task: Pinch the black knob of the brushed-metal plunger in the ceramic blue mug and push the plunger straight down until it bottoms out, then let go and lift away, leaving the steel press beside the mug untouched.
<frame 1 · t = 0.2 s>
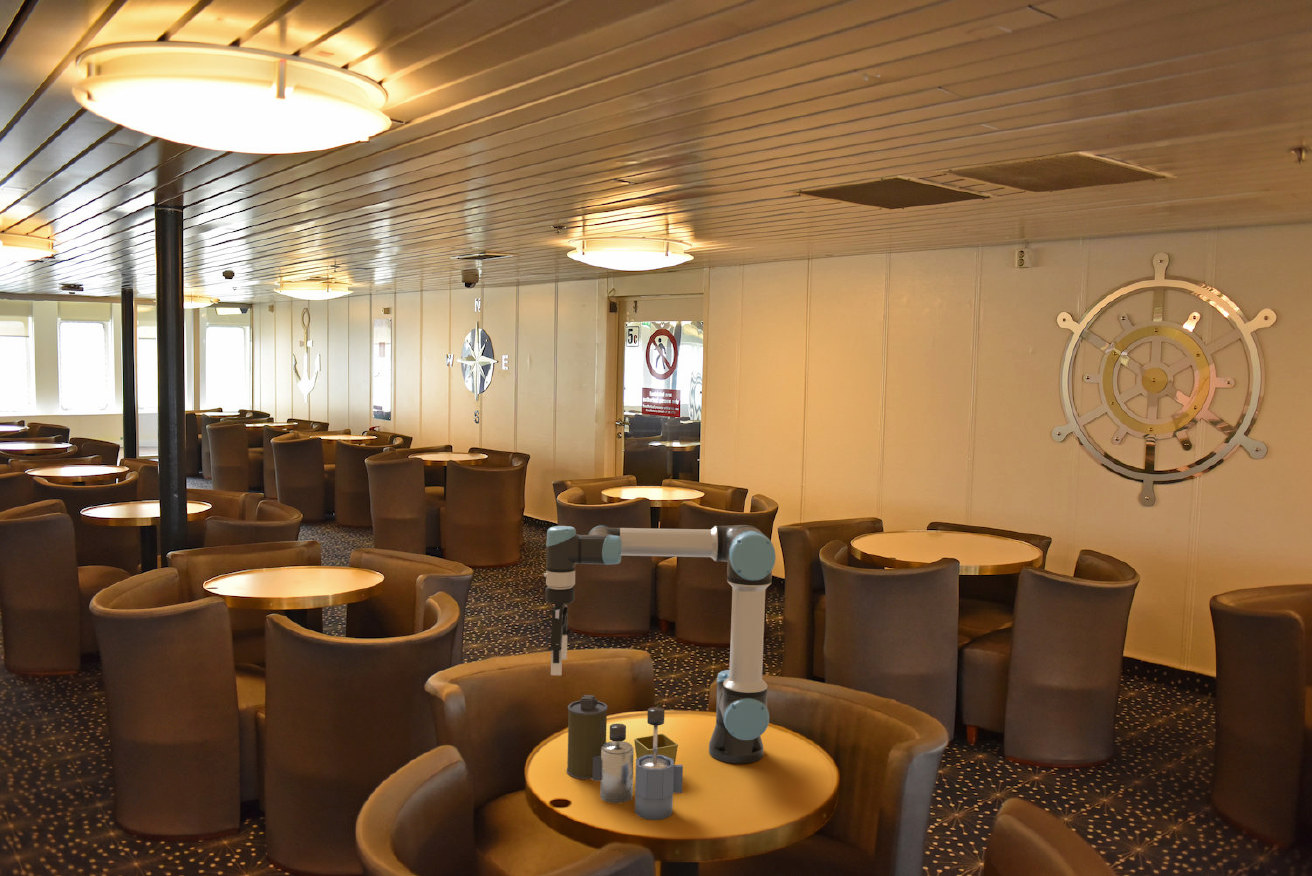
hand: (559, 666, 245), 28 cm above the table, fingers open, 13 cm apart
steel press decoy: (616, 796, 233), on the table
flower pot: (655, 775, 246), on the table
canister: (586, 771, 248), on the table
plunger: (655, 738, 224), point 18 cm above the table, slide at 0.0 cm
blue mug: (653, 811, 225), on the table
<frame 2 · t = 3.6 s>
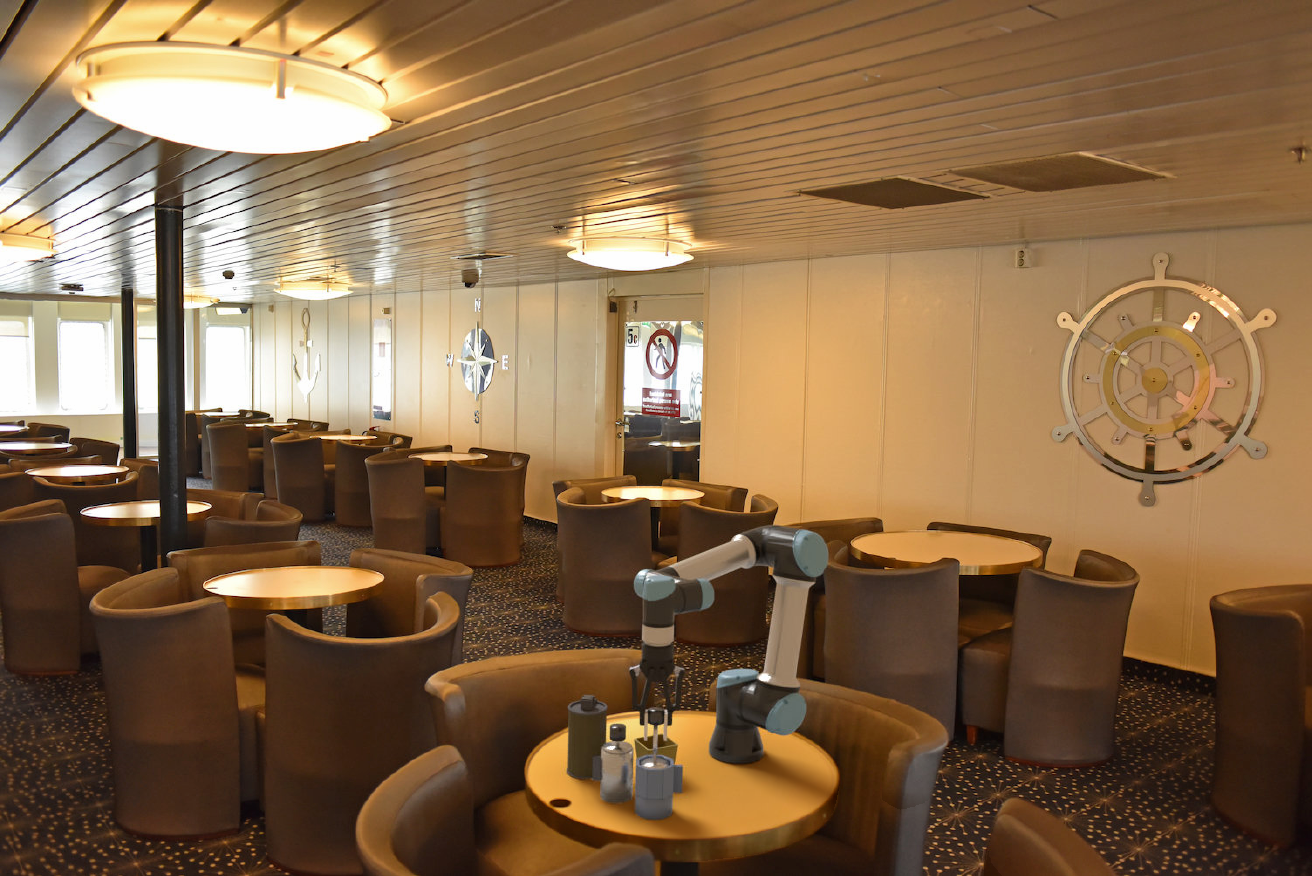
hand: (655, 738, 224), 18 cm above the table, fingers closed on plunger, 4 cm apart
plunger: (655, 738, 224), point 18 cm above the table, slide at 0.0 cm, touching gripper
everything else where it was.
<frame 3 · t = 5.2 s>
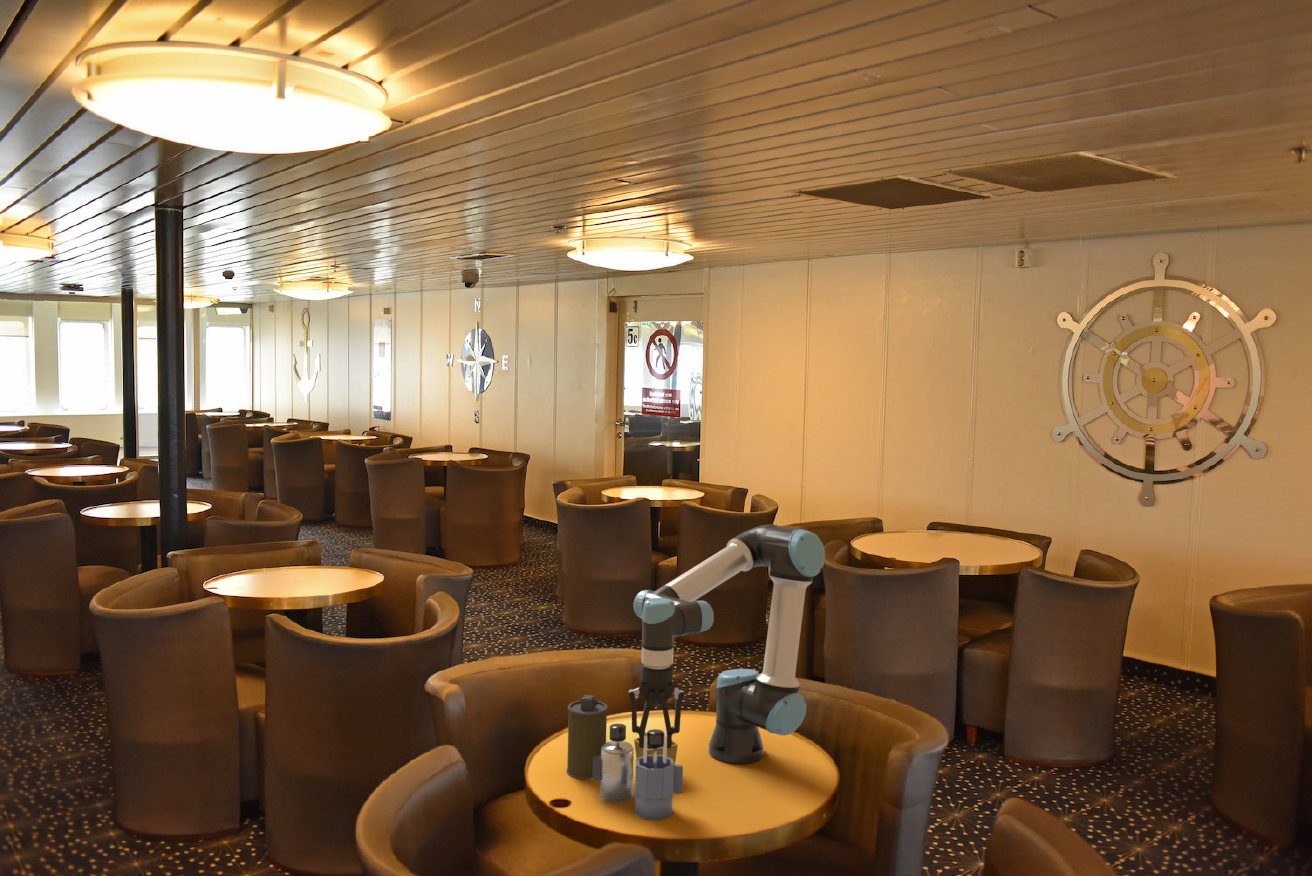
hand: (654, 760, 225), 12 cm above the table, fingers closed on plunger, 4 cm apart
plunger: (654, 760, 225), point 12 cm above the table, slide at 5.4 cm, touching gripper
everything else where it was.
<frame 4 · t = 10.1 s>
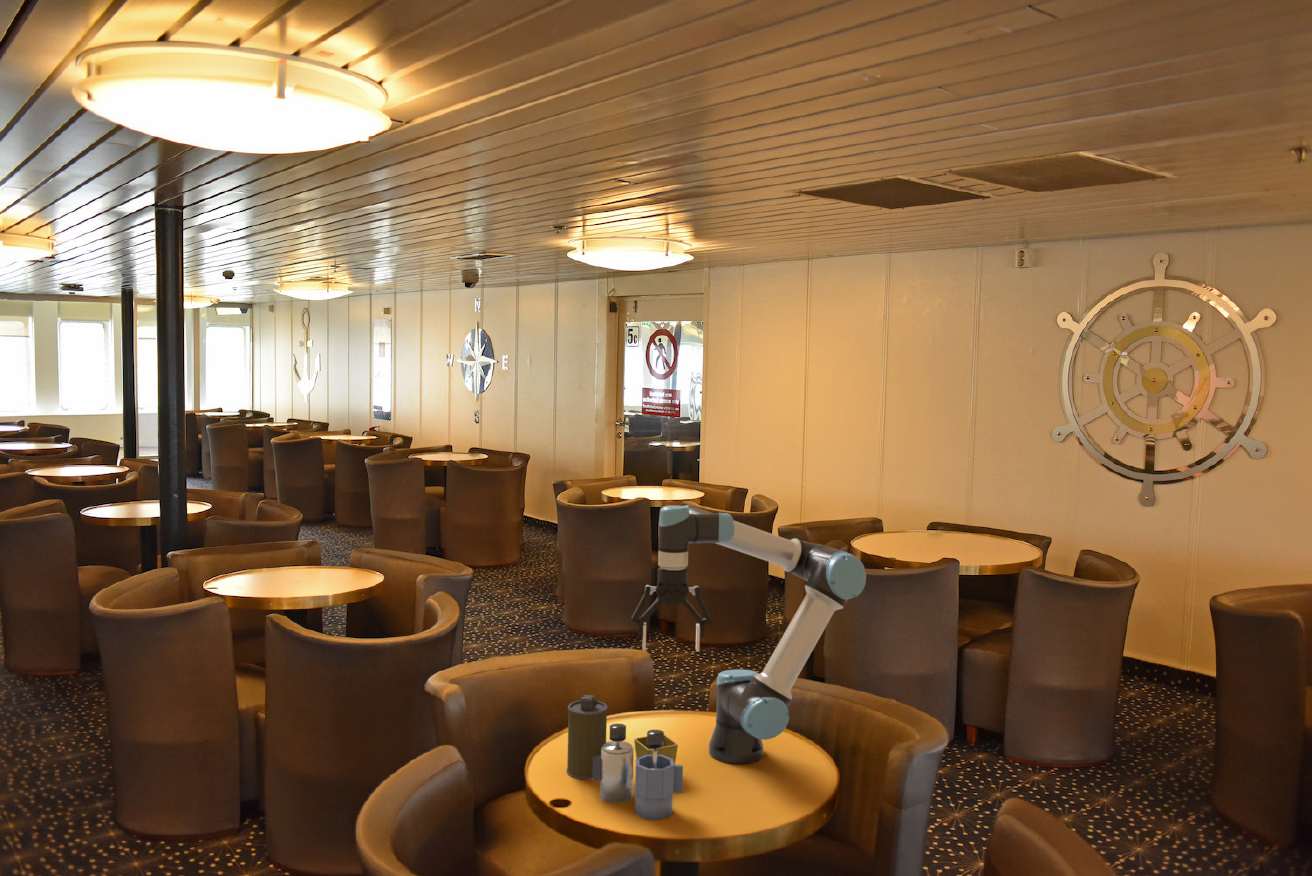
hand: (670, 649, 239), 35 cm above the table, fingers open, 13 cm apart
plunger: (654, 761, 225), point 12 cm above the table, slide at 5.5 cm
everything else where it was.
at the end: plunger slide at 5.5 cm; the gripper is holding nothing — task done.
